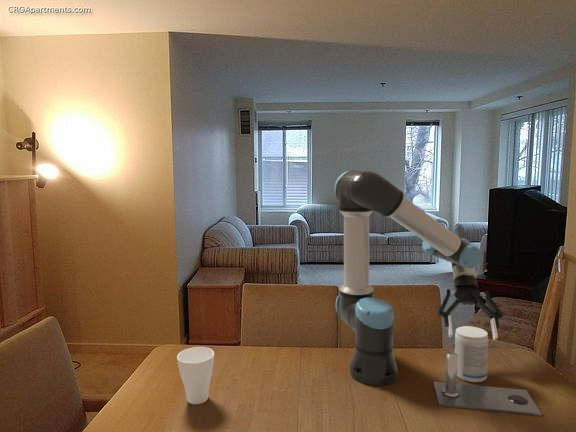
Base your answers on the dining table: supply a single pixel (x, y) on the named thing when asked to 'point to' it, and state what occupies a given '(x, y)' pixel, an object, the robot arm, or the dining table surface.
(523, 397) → the grey flat rectangular plate
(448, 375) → the steel pin
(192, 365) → the cup
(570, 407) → the dining table surface
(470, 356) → the supplement tub
